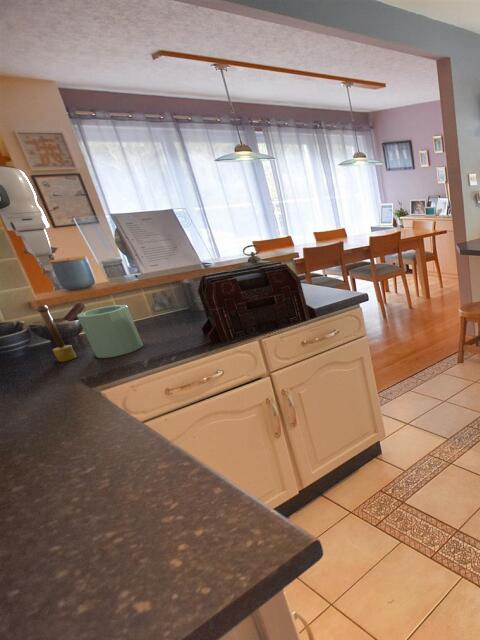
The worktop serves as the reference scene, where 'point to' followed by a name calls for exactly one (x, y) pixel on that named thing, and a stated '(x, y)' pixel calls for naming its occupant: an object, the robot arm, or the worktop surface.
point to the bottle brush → (56, 337)
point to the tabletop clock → (253, 259)
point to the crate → (251, 301)
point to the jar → (110, 331)
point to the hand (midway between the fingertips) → (46, 268)
